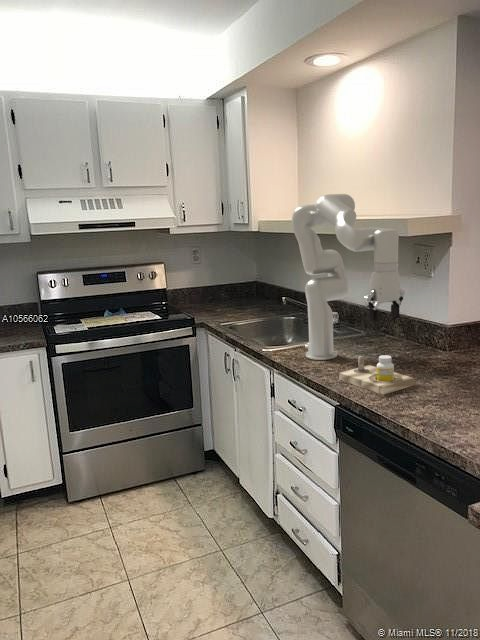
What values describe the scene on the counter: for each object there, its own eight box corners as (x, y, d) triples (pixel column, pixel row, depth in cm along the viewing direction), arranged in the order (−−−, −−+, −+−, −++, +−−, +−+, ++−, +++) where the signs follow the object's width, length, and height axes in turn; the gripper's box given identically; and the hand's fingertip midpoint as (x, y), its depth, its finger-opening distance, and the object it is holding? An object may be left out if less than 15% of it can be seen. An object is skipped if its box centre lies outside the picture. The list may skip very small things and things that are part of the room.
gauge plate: (339, 379, 178) (338, 358, 176) (368, 371, 185) (368, 351, 184) (383, 394, 161) (383, 371, 160) (413, 385, 168) (413, 363, 167)
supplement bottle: (381, 382, 173) (381, 353, 171) (396, 384, 170) (396, 355, 168) (373, 386, 169) (373, 357, 167) (389, 389, 166) (389, 359, 164)
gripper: (395, 264, 175) (394, 313, 179) (357, 269, 167) (356, 320, 171) (413, 265, 169) (411, 317, 173) (374, 271, 161) (373, 324, 165)
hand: (384, 318), depth 172 cm, fingers open, 9 cm apart
